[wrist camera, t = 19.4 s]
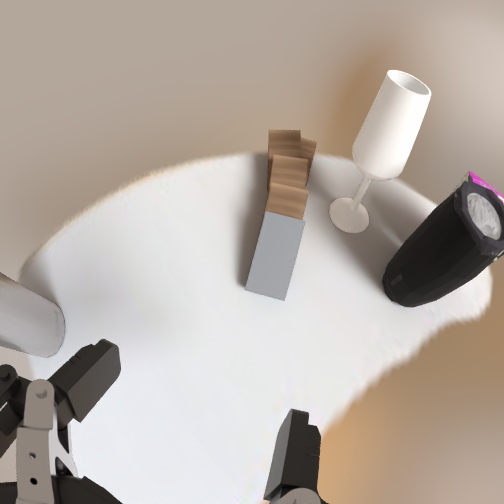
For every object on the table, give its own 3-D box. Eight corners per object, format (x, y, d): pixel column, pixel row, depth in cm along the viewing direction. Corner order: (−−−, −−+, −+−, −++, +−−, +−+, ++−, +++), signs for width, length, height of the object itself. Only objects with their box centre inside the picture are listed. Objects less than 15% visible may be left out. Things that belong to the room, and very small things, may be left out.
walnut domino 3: (292, 264, 35) (308, 190, 35) (254, 255, 36) (271, 182, 36) (291, 264, 37) (307, 194, 37) (255, 256, 38) (272, 186, 38)
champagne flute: (360, 195, 42) (416, 71, 20) (375, 230, 39) (452, 107, 18) (323, 199, 42) (365, 61, 20) (336, 236, 39) (401, 98, 17)
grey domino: (284, 300, 33) (305, 221, 33) (244, 289, 34) (265, 210, 34) (284, 298, 35) (304, 223, 35) (246, 288, 36) (266, 214, 36)
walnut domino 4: (307, 181, 41) (316, 141, 46) (276, 173, 42) (289, 135, 46) (305, 188, 43) (315, 149, 47) (275, 181, 44) (288, 143, 48)
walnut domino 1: (301, 189, 40) (300, 130, 40) (267, 188, 40) (268, 130, 41) (300, 193, 42) (299, 136, 42) (268, 192, 42) (269, 135, 43)
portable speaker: (423, 257, 37) (499, 183, 20) (428, 315, 33) (524, 262, 16) (377, 250, 38) (446, 162, 20) (379, 312, 34) (473, 251, 16)
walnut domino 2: (300, 226, 37) (308, 159, 38) (264, 221, 38) (273, 154, 38) (299, 228, 39) (307, 164, 40) (264, 223, 40) (274, 159, 40)
